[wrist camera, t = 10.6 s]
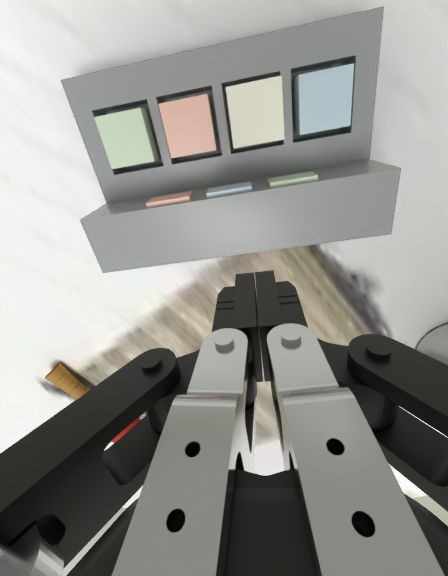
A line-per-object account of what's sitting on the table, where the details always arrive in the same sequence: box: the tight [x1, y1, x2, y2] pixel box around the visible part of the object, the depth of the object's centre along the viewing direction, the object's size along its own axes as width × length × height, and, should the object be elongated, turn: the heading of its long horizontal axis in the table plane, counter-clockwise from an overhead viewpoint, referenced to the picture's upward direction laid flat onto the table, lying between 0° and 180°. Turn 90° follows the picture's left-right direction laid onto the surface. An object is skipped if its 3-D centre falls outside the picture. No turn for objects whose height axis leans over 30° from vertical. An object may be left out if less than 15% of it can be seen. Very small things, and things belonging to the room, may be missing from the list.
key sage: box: [94, 108, 161, 169], centre depth 25 cm, size 4×4×4 cm
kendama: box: [45, 363, 140, 443], centre depth 47 cm, size 8×6×18 cm
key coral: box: [158, 94, 218, 158], centre depth 24 cm, size 4×4×4 cm
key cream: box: [226, 75, 285, 148], centre depth 22 cm, size 4×4×4 cm
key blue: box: [293, 63, 354, 135], centre depth 23 cm, size 4×4×4 cm
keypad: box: [61, 7, 401, 273], centre depth 24 cm, size 25×15×10 cm, turn 99°
